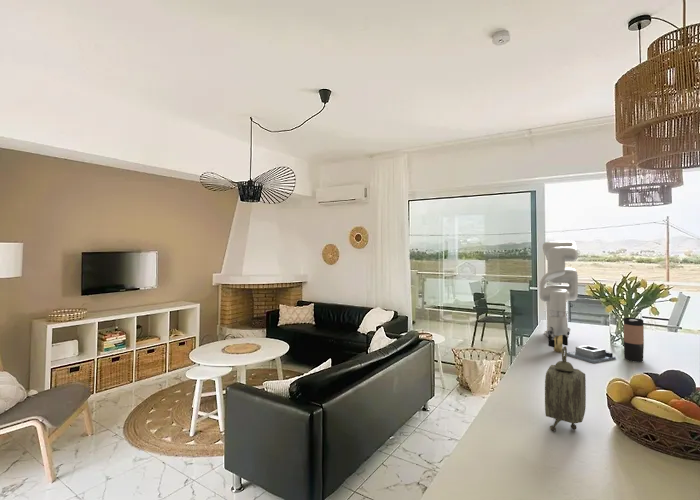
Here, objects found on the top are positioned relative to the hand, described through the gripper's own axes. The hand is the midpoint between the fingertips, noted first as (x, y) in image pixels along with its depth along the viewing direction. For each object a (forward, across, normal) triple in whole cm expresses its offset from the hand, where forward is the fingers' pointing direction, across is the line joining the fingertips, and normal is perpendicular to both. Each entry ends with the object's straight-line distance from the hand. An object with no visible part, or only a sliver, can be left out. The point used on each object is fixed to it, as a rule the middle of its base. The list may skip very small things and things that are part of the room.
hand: (558, 345), depth 186 cm
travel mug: (+3, -21, +24) cm, 32 cm away
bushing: (+3, 0, 0) cm, 3 cm away
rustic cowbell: (+4, +69, +56) cm, 89 cm away
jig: (+3, -6, +13) cm, 15 cm away
